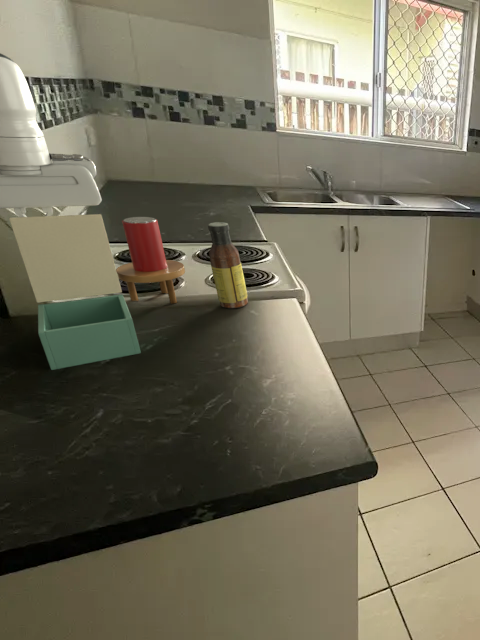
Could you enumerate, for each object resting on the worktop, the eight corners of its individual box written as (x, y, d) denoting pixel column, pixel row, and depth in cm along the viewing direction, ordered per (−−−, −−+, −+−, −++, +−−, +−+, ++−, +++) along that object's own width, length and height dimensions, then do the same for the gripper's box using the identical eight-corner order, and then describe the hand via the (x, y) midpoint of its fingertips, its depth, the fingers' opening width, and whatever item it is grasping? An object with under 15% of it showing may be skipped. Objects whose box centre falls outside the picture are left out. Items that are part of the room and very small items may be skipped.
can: (126, 268, 109) (114, 219, 104) (152, 262, 115) (141, 215, 110) (149, 273, 108) (137, 224, 103) (174, 266, 113) (164, 219, 109)
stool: (110, 303, 110) (100, 270, 107) (160, 286, 122) (153, 256, 118) (155, 313, 107) (147, 279, 104) (202, 295, 119) (197, 265, 116)
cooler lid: (101, 214, 91) (100, 214, 91) (8, 217, 83) (9, 217, 84) (122, 292, 96) (121, 291, 96) (36, 302, 88) (37, 302, 89)
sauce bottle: (244, 298, 120) (233, 219, 111) (251, 307, 116) (240, 225, 107) (215, 302, 116) (200, 221, 107) (221, 311, 112) (206, 227, 103)
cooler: (141, 356, 90) (132, 319, 87) (52, 373, 82) (38, 333, 79) (131, 328, 100) (122, 294, 96) (50, 342, 92) (37, 304, 88)
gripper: (90, 152, 92) (109, 223, 98) (-69, 149, 79) (-36, 231, 85) (93, 156, 88) (112, 230, 94) (-74, 153, 75) (-40, 239, 81)
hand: (40, 231), depth 89 cm, fingers closed
